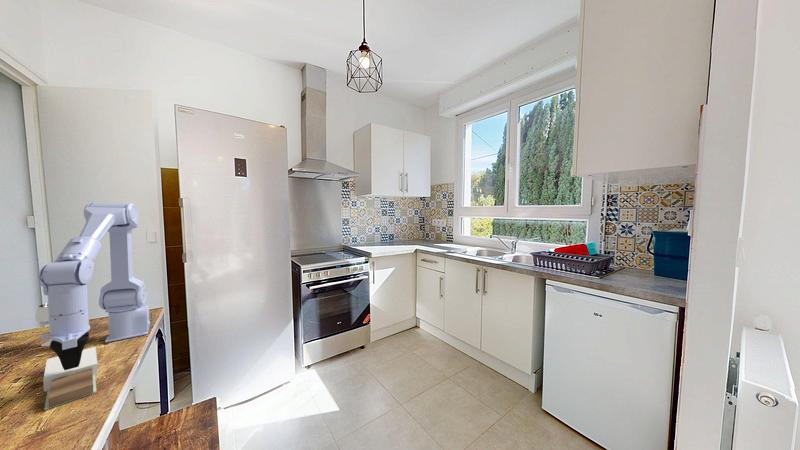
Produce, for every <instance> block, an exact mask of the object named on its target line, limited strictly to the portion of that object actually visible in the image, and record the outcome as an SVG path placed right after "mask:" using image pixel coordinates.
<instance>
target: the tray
mask: <svg viewBox="0 0 800 450" xmlns="http://www.w3.org/2000/svg"><path fill="white" fill-rule="evenodd" d="M98 364H99V363H98V356H97V349H96V346H93V347H90V348H86V349H83V351H82V355H81V360H80V364H79V366H78V367H76V368H72V369H69V370H64V369H63V367H62V364H61V362H60V359H59V357H58V356H54V357H50V358H47V359H46V363H45V368H44V374H43V379H42V381H43V392H47V390H48V389H50V386H51V380H54V379H57V378H60V377H64V376H67V375H71V374H74V373H78V372H81V371H84V370H88V369H91V368H92V374H93V375H95V377H96V376H99V369H98Z"/></svg>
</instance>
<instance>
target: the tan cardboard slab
mask: <svg viewBox="0 0 800 450" xmlns="http://www.w3.org/2000/svg"><path fill="white" fill-rule="evenodd" d="M91 393H93V374H92V368H91V369H88V370H84V371H81V372H78V373H74V374H71V375H67V376H64V377H60V378H57V379H54V380H51V386H50V392H49V398H48V403H49V408H50V407H53V406H56V405H58V406H60V405H59V404H61V405H63V404H62V403H64V404H66V403H65V402H67V403H69V402H68V401H70V402H72V401H71V400H73V401H75V400H74V399H76V400H78V399H77V398H79V397H82V396H85V395H87V396H89V395H88V394H90V395H92V394H91ZM93 394H94V393H93ZM85 397H86V396H85ZM82 398H83V397H82ZM79 399H80V398H79ZM56 407H57V406H56ZM53 408H54V407H53ZM50 409H51V408H50Z"/></svg>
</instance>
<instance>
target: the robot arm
mask: <svg viewBox="0 0 800 450" xmlns="http://www.w3.org/2000/svg"><path fill="white" fill-rule="evenodd" d="M83 217H84V219H85V223H84V226H83V227H82V230H81V231H80V234H79V236H76V237H73V238H70V239H69V240H68V242H67V243H66V245H65V246H64V248H63V249H62V250H61V252H60V253H59V254H58V256H57V257H56V259H55V260H54V261H51V262H49V263H46V264H44V265H43V266H42V267H41V269H40V271H39V275H38V277H37V278H38V283H39V285H40V286H41V287H42V290H43V293H42V294H43V295H45V296H47V303H48V312H49V326H48V327H49V328H48V329H49V331H48V332H47V333H43V334H41V335H40V340H41V341H42V340H43V341H45V340H49V339H50V340H51V339H52V340H53V341H51V343H50V346H49V348H50V349H51V351H53V352H54V353H55V354H56V355H57V357H59V359H60V362H61V364H62V367H63V369H64V370H69V369H72V368H76V367H78V366H79V364H80V360H81V355H82V351H83V350H84V347H85V346H86V345H87V343H88V341H89V340H90V333H89V331H90V330H91V325H90V321H89V298H88V296H89V294H88V284H89V283H90V282H91V281H92V278H93V276H94V269H95V266H96V265H95V263H94V262H95V260H96V258H97V257H98V255H99V253H100V251H101V249H103V248H102V244H101V242H100V241H101V240H102V238H103V237H104V236H105V234H107V232H108V235H109V252H110V254H109V255H110V258H109V259H110V276H111V277H110V280H111V281H109V282H108V283H106V284H104V285H103V286H102V287H101V289H100V294H99V299H98V305H99V308H101V310H104V311H105V313H107V314H108V315H107V317H108V318H107V319H108V335H107V337H106V338H105V341H104V343H110V342H111V343H112V342H115V341H116V342H117V341H120V340H126V339H130V338H135V337H139V336H144V335H147V334H148V333H149V331H150V326H151V321H150V305H148V304H146V301H147V300H148V299H147V298H148V290H147V287H146V282H145V281H143V280H140V279H139V278H136V277H134V263H133V262H134V261H133V239H132V237H133V229H136V228H139V210H138V208H137V206H136V205H135V204H134V203H132V202H129V203H126V202H125V203H124V202H122V203H119V202H95V201H90V202H88V203H87V204H86V205H85V206H84V209H83ZM144 304H145V305H144Z"/></svg>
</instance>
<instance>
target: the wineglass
mask: <svg viewBox="0 0 800 450" xmlns="http://www.w3.org/2000/svg"><path fill="white" fill-rule="evenodd" d="M35 321H36V323H37V324H38V325H40V326H44V327H45V326H46V327H49V312H48V302H46V303H43V304H41V305H39V306H38V308H37V310H36V313H35ZM51 341H53V340H52V339H50V340H49V341H46V342H43V343H41V344H40V346H41V347H50V343H51Z"/></svg>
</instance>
